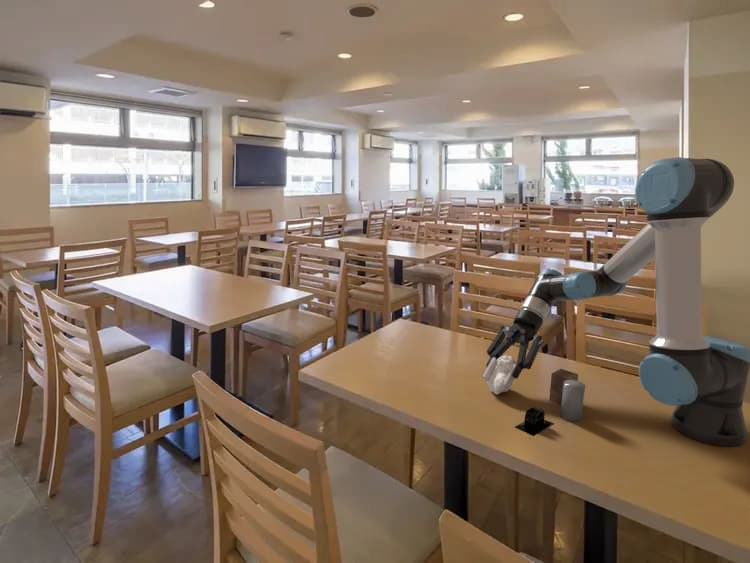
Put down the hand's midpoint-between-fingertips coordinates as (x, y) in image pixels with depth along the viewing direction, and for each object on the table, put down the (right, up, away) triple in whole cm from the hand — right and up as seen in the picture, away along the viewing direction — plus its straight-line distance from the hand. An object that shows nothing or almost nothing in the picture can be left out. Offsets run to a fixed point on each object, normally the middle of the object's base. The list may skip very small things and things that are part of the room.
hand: (495, 382), depth 135 cm
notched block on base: (+6, -8, -15) cm, 18 cm away
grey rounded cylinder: (+17, -6, -11) cm, 21 cm away
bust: (+2, -3, +4) cm, 5 cm away
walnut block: (+18, -5, -2) cm, 19 cm away
